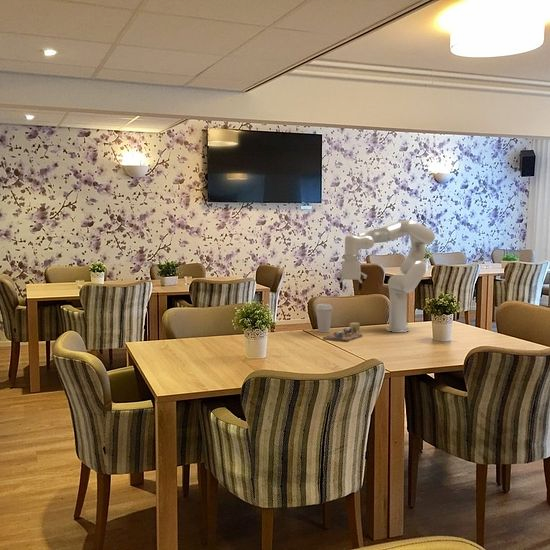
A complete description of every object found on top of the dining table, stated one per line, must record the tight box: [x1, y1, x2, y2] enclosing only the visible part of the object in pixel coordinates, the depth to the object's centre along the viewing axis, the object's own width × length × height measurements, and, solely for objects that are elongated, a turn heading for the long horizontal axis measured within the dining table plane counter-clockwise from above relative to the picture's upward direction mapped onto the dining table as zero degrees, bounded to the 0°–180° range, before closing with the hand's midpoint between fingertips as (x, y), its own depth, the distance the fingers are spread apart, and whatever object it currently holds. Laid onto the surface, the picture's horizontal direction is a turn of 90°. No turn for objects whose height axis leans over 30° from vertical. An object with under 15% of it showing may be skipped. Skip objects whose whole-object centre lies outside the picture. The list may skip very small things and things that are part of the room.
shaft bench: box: [322, 326, 363, 343], centre depth 329 cm, size 18×14×4 cm
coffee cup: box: [315, 303, 333, 333], centre depth 349 cm, size 10×10×15 cm
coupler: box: [349, 321, 361, 334], centre depth 341 cm, size 4×5×6 cm
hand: (350, 290), depth 338 cm, fingers open, 9 cm apart
